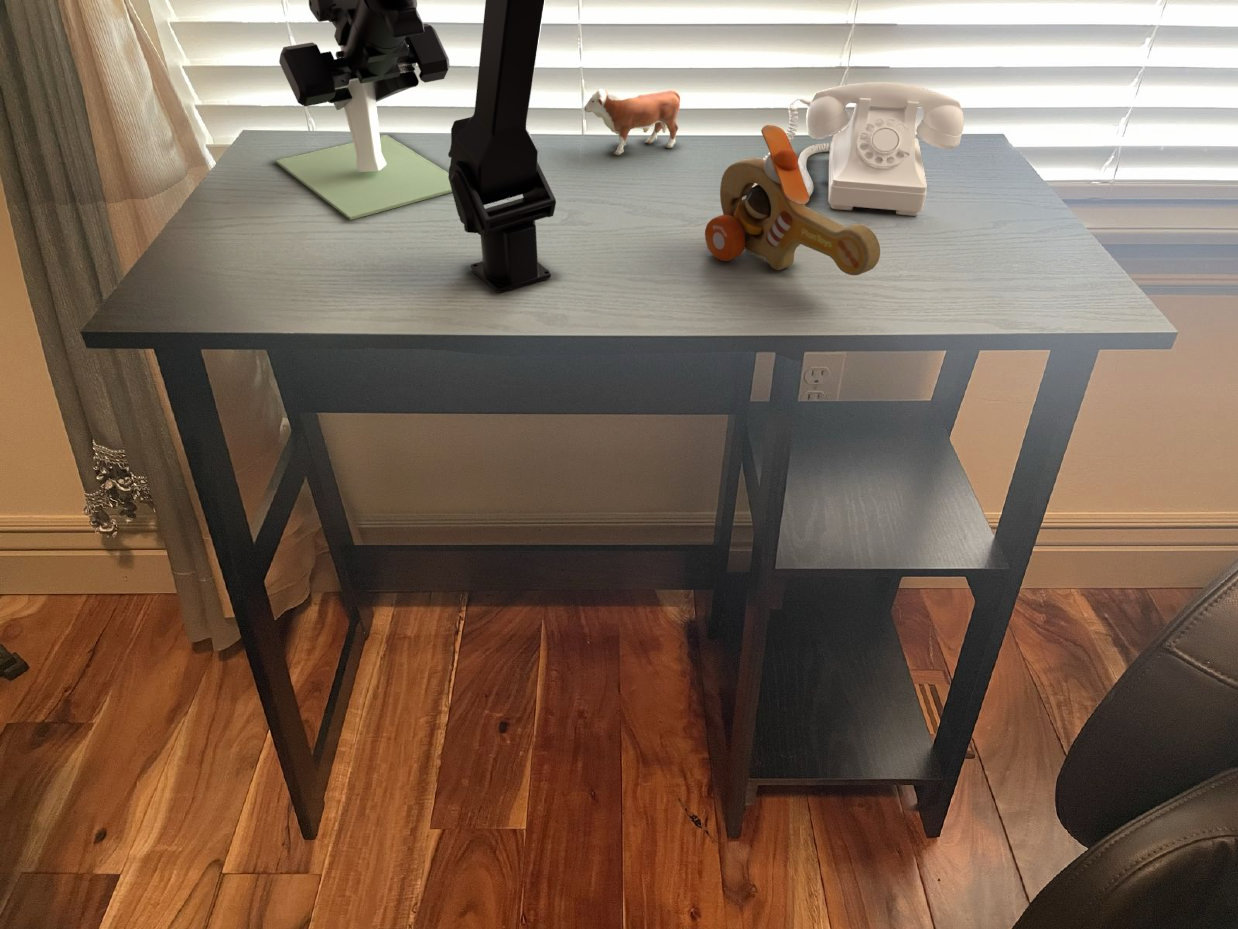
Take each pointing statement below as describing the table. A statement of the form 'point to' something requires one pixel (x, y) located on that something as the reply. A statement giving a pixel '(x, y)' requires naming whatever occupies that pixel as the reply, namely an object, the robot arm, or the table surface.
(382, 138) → the mat
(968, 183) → the table surface
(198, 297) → the table surface
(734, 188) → the toy helicopter
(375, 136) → the perfume bottle
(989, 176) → the table surface
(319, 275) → the table surface
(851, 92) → the telephone
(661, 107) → the bull figurine
